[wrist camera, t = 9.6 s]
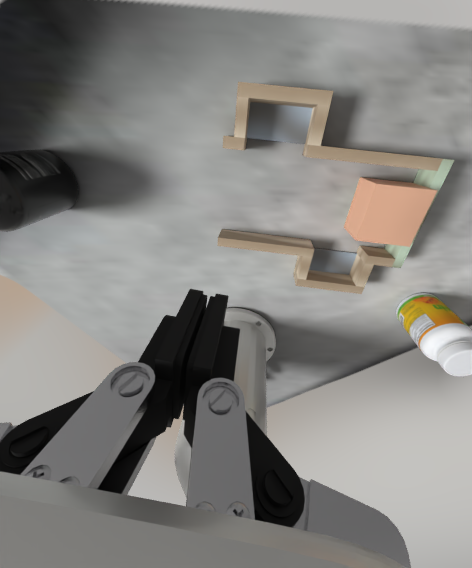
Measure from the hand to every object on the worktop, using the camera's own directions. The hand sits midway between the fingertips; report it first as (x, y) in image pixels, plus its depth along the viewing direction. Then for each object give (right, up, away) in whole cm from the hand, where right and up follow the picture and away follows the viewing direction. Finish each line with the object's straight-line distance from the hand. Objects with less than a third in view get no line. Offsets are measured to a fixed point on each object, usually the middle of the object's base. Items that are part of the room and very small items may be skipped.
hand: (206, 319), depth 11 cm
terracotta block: (+17, +10, +17) cm, 26 cm away
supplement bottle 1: (-21, +14, +19) cm, 31 cm away
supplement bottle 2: (+26, -2, +23) cm, 35 cm away
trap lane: (+10, +11, +17) cm, 22 cm away
